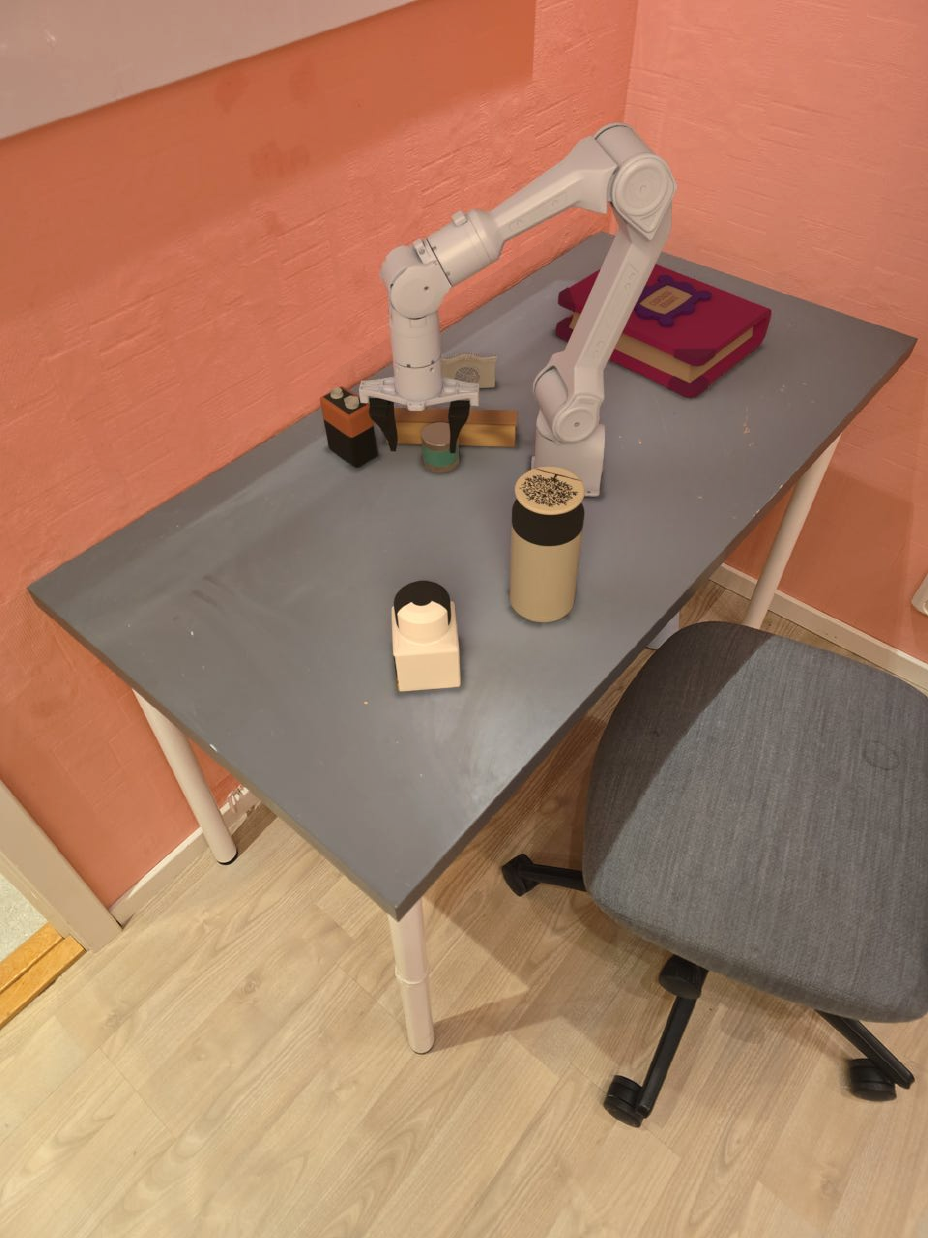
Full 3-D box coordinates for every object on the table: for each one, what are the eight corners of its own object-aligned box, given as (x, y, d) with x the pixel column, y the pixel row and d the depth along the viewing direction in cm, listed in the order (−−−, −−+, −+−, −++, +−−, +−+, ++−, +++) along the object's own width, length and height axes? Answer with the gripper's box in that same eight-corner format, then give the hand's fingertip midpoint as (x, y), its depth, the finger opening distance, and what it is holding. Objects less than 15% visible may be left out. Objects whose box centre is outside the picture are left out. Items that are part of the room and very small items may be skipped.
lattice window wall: (420, 391, 132) (418, 358, 128) (420, 385, 133) (418, 352, 129) (496, 388, 132) (496, 355, 128) (496, 382, 133) (496, 349, 129)
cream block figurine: (396, 643, 100) (386, 575, 91) (456, 639, 100) (452, 569, 91) (398, 693, 95) (388, 625, 86) (461, 687, 95) (458, 620, 86)
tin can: (460, 450, 123) (459, 422, 119) (457, 473, 119) (456, 445, 116) (425, 449, 123) (423, 421, 119) (421, 472, 120) (419, 444, 116)
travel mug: (555, 633, 100) (565, 523, 86) (497, 607, 103) (498, 497, 89) (585, 590, 104) (599, 479, 91) (529, 567, 107) (535, 455, 94)
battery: (356, 470, 120) (347, 412, 113) (327, 449, 124) (316, 391, 116) (379, 456, 122) (372, 398, 115) (350, 436, 125) (341, 378, 118)
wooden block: (517, 428, 126) (518, 404, 122) (516, 448, 123) (516, 423, 119) (389, 425, 127) (386, 400, 124) (384, 444, 124) (381, 419, 121)
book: (627, 286, 151) (632, 244, 146) (764, 343, 139) (776, 300, 133) (551, 334, 142) (554, 291, 136) (691, 400, 129) (701, 356, 123)
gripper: (349, 372, 96) (363, 465, 106) (476, 375, 95) (477, 469, 105) (359, 338, 101) (371, 430, 111) (480, 341, 100) (481, 434, 110)
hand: (423, 447), depth 109 cm, fingers open, 7 cm apart
